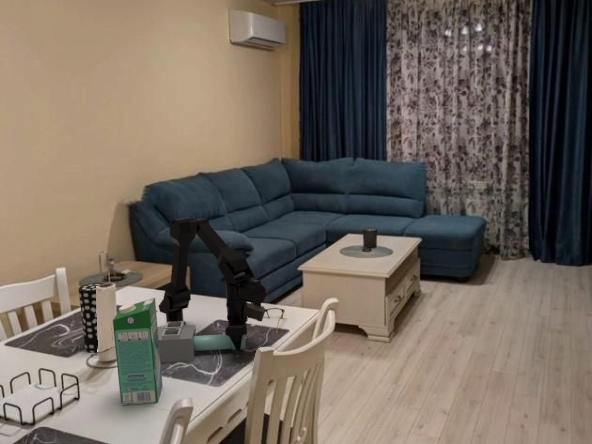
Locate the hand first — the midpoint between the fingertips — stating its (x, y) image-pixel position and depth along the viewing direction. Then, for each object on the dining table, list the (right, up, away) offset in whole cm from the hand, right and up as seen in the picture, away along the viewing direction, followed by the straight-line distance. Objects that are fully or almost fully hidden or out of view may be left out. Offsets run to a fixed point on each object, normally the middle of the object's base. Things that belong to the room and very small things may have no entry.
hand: (238, 346), depth 173 cm
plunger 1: (-20, +6, +1) cm, 20 cm away
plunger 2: (-19, +4, -5) cm, 20 cm away
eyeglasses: (+6, +2, +21) cm, 22 cm away
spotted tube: (-45, -2, +6) cm, 45 cm away
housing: (-19, -2, -1) cm, 19 cm away
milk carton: (-22, -7, -26) cm, 35 cm away
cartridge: (-8, -1, 0) cm, 8 cm away
